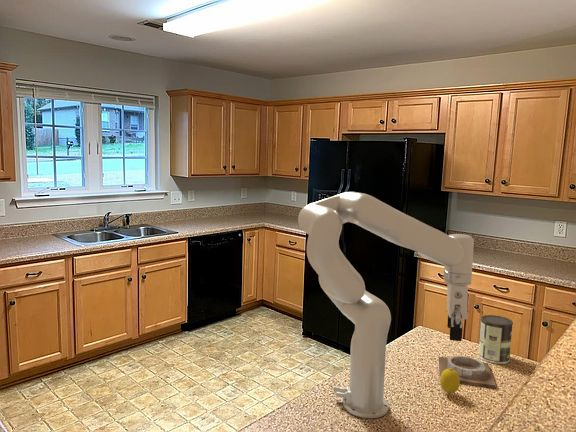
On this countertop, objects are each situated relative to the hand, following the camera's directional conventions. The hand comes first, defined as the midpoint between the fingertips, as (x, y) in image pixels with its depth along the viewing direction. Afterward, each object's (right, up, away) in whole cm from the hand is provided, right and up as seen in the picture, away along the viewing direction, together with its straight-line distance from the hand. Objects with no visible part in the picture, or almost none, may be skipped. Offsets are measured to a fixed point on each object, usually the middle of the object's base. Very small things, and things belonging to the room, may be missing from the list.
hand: (454, 334), depth 130 cm
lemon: (-1, -19, +2) cm, 19 cm away
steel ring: (+10, -17, +16) cm, 25 cm away
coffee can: (+25, -16, +28) cm, 41 cm away
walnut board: (+10, -17, +16) cm, 25 cm away
